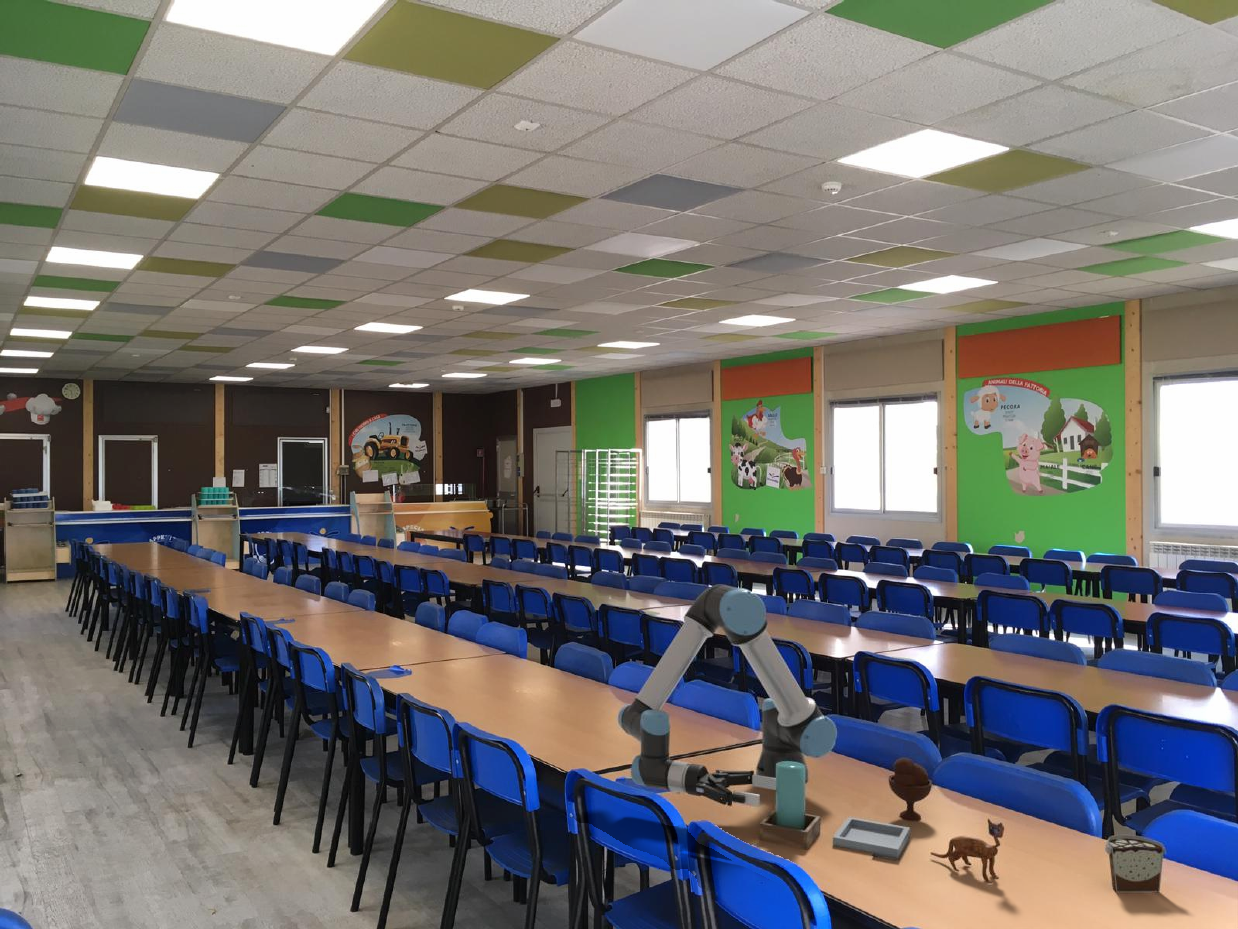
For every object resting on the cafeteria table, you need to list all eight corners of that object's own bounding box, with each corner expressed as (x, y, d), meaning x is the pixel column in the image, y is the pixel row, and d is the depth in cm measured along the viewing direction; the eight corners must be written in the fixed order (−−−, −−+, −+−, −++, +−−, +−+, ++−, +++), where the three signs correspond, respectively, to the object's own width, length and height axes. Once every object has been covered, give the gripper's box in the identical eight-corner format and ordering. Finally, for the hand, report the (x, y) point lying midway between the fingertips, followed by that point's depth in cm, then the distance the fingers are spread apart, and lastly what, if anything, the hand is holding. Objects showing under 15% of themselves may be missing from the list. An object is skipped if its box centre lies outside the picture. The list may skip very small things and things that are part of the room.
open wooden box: (774, 826, 229) (774, 808, 229) (820, 835, 223) (820, 816, 223) (759, 842, 218) (759, 823, 218) (807, 851, 213) (807, 832, 213)
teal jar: (780, 828, 225) (781, 759, 226) (808, 834, 222) (808, 764, 222) (771, 838, 219) (772, 767, 220) (800, 844, 216) (800, 771, 216)
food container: (1148, 879, 199) (1148, 833, 199) (1166, 892, 193) (1166, 844, 193) (1093, 880, 199) (1093, 834, 199) (1109, 892, 193) (1109, 845, 193)
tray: (848, 826, 229) (848, 816, 229) (910, 838, 222) (910, 827, 222) (832, 847, 215) (832, 837, 215) (898, 860, 208) (898, 849, 208)
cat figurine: (922, 862, 208) (923, 803, 208) (937, 854, 212) (937, 797, 212) (997, 888, 195) (997, 825, 195) (1011, 880, 199) (1011, 818, 199)
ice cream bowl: (904, 827, 229) (904, 767, 229) (880, 811, 240) (880, 754, 240) (941, 823, 232) (941, 763, 232) (915, 807, 242) (915, 751, 243)
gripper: (707, 779, 244) (784, 792, 234) (668, 808, 222) (750, 824, 212) (708, 751, 244) (784, 763, 234) (668, 777, 222) (751, 792, 212)
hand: (768, 792), depth 223 cm, fingers open, 13 cm apart
